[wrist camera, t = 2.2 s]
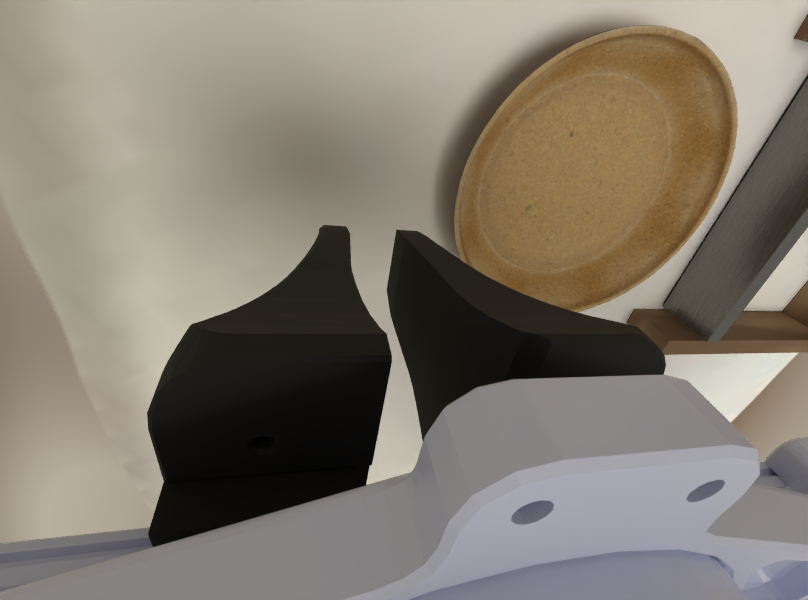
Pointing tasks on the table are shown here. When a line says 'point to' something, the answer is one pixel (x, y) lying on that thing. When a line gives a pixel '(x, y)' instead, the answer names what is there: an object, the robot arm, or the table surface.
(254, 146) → the table surface
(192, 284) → the table surface
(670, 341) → the brown wooden open box
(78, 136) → the table surface
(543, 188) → the plant saucer
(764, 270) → the pusher plate
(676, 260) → the table surface
